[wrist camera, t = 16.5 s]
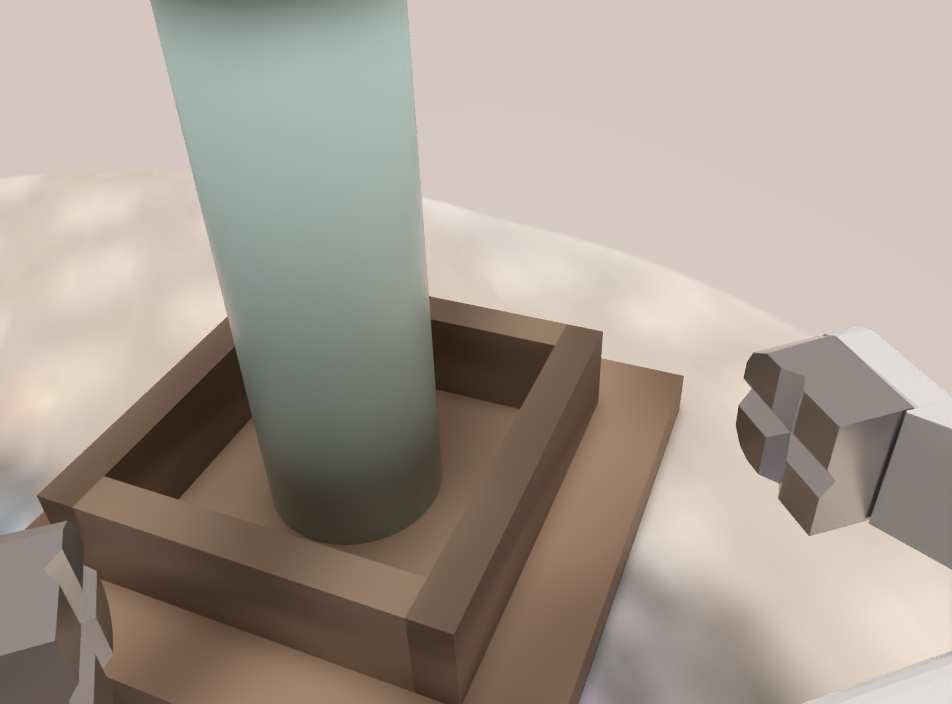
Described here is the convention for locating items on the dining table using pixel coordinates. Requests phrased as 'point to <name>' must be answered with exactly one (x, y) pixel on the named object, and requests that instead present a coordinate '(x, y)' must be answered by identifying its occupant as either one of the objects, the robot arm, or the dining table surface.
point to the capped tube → (317, 246)
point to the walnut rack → (382, 561)
